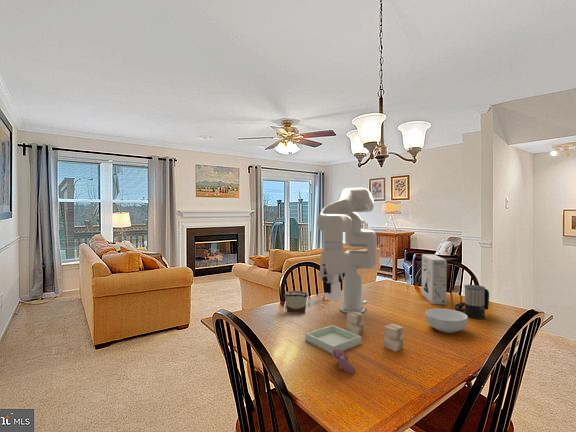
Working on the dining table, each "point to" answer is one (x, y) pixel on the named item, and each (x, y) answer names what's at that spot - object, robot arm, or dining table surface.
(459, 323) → the cereal bowl
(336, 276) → the downlight
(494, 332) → the dining table surface
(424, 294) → the cereal box
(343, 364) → the video game controller
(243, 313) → the dining table surface
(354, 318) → the maple block
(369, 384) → the dining table surface
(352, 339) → the tray
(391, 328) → the maple block
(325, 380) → the dining table surface
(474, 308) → the milk frother
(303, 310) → the food container
